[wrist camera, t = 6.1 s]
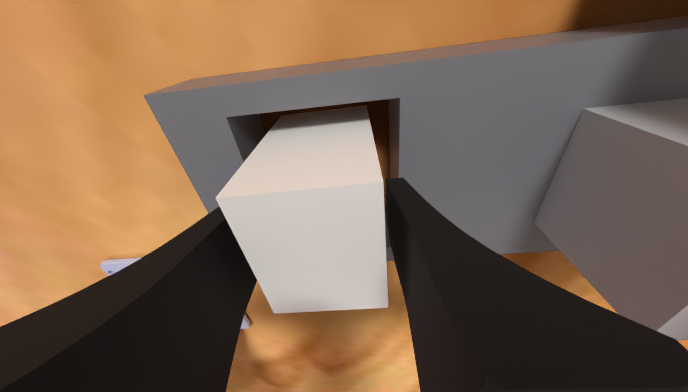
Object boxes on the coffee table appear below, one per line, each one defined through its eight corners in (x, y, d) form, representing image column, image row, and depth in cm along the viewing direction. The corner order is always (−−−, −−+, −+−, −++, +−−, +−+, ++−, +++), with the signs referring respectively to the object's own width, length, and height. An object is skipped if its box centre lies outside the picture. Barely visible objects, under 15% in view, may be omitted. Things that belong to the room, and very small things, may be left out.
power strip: (629, 204, 14) (879, 365, 7) (256, 230, 16) (189, 378, 9) (767, 5, 9) (2009, -55, 2) (191, 79, 11) (-66, 166, 4)
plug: (372, 193, 14) (388, 307, 8) (304, 199, 14) (274, 313, 9) (366, 104, 11) (383, 181, 6) (282, 114, 12) (215, 198, 6)
